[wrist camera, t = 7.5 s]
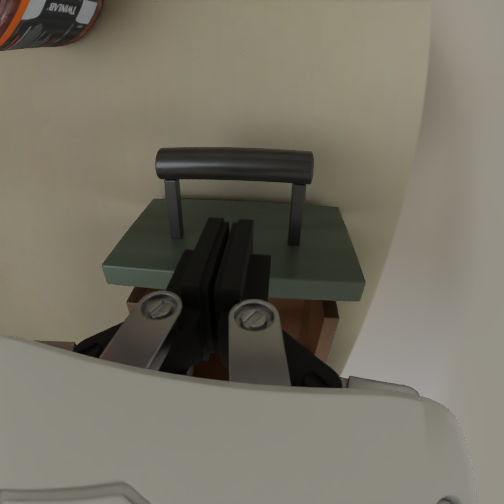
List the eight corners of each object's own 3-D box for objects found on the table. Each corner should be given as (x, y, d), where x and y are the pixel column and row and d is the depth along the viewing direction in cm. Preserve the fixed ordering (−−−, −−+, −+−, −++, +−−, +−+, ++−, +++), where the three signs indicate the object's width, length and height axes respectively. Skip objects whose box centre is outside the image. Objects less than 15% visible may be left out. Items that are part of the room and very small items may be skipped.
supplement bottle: (122, -1, 13) (-4, -28, 4) (67, 61, 15) (-62, 89, 6) (81, -39, 11) (-33, -63, 1) (32, 21, 13) (-85, 34, 3)
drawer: (146, 130, 17) (78, 171, 11) (348, 136, 17) (391, 181, 10) (177, 333, 27) (155, 403, 21) (310, 342, 27) (315, 418, 20)
